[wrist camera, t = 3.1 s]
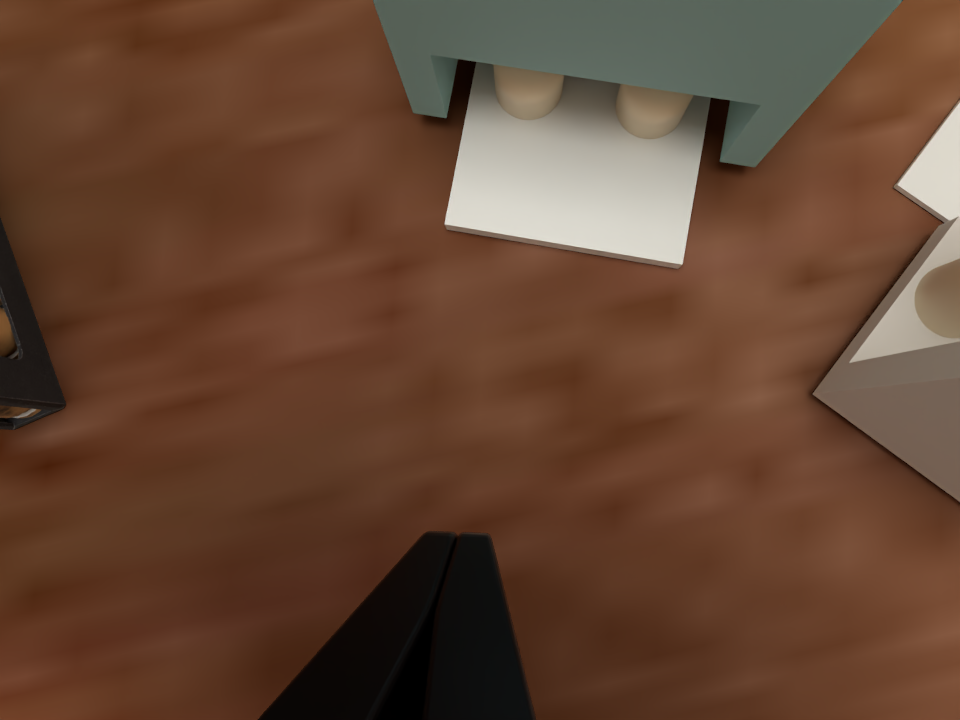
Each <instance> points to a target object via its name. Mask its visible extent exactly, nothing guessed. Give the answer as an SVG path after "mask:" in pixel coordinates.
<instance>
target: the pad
mask: <svg viewBox="0 0 960 720" xmlns="http://www.w3.org/2000/svg"><path fill="white" fill-rule="evenodd" d="M893 188H895V189H896V190H897V191H899V192H900V193H902V194H903V195H905V196H906V197H908V198H909V199H911V200H912V201H913V202H915V203H916V204H918V205H919V206H921V207H922V208H924V209H925V210H927V211H928V212H929V213H931V214H932V215H934V216H935V217H937V218H938V219H940V220H941V221H943V222H944V223H946V222H948V221H950V220H952V219H954V218H956V217H958V216H959V217H960V100H959V101H958V102H957V104H956V105H955V106H954V108H953V109H952V110H951V111H950V113H949V114H948V115H947V117H946V118H945V119H944V121H943V122H942V123H941V125H940V126H939V127H938V129H937V130H936V131H935V133H934V134H933V135H932V137H931V138H930V139H929V141H928V142H927V143H926V145H925V146H924V147H923V149H922V150H921V151H920V152H919V154H918V155H917V156H916V158H915V159H914V160H913V162H912V163H911V164H910V166H909V167H908V168H907V170H906V171H905V172H904V174H903V175H902V176H901V178H900V179H899V180H898V182H897V183H896V184H895V186H894V187H893Z"/></svg>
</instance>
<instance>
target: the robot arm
mask: <svg viewBox="0 0 960 720" xmlns="http://www.w3.org/2000/svg"><path fill="white" fill-rule="evenodd" d="M258 720H536V716H535V712H534V708H533V704H532V700H531V696H530V692H529V688H528V684H527V680H526V676H525V672H524V668H523V663H522V659H521V655H520V651H519V647H518V643H517V639H516V635H515V631H514V627H513V623H512V619H511V615H510V611H509V607H508V603H507V598H506V594H505V590H504V586H503V582H502V578H501V574H500V570H499V566H498V562H497V558H496V554H495V550H494V546H493V542H492V538H491V536H490V535H489V534H488V533H471V532H463V533H461V534H459V536H458V535H457V534H456V533H454V532H443V531H428V532H426V533H424V534H423V535H422V536H421V537H420V538H419V539H418V540H417V542H416V543H415V544H414V545H413V546H412V547H411V548H410V549H409V551H408V552H407V553H406V554H405V555H404V556H403V557H402V558H401V560H400V561H399V562H398V563H397V564H396V565H395V566H394V567H393V568H392V570H391V571H390V572H389V573H388V574H387V575H386V576H385V577H384V579H383V580H382V581H381V582H380V583H379V584H378V585H377V586H376V588H375V589H374V590H373V591H372V592H371V593H370V594H369V595H368V596H367V598H366V599H365V600H364V601H363V602H362V603H361V604H360V605H359V607H358V608H357V609H356V610H355V611H354V612H353V613H352V614H351V616H350V617H349V618H348V619H347V620H346V621H345V622H344V623H343V624H342V626H341V627H340V628H339V629H338V630H337V631H336V632H335V633H334V635H333V636H332V637H331V638H330V639H329V640H328V641H327V642H326V644H325V645H324V646H323V647H322V648H321V649H320V650H319V651H318V652H317V654H316V655H315V656H314V657H313V658H312V659H311V660H310V661H309V663H308V664H307V665H306V666H305V667H304V668H303V669H302V670H301V672H300V673H299V674H298V675H297V676H296V677H295V678H294V679H293V680H292V682H291V683H290V684H289V685H288V686H287V687H286V688H285V689H284V691H283V692H282V693H281V694H280V695H279V696H278V697H277V698H276V700H275V701H274V702H273V703H272V704H271V705H270V706H269V707H268V708H267V710H266V711H265V712H264V713H263V714H262V715H261V716H260V717H259V719H258Z"/></svg>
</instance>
